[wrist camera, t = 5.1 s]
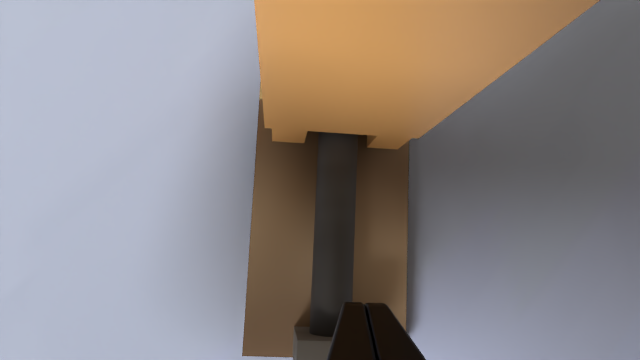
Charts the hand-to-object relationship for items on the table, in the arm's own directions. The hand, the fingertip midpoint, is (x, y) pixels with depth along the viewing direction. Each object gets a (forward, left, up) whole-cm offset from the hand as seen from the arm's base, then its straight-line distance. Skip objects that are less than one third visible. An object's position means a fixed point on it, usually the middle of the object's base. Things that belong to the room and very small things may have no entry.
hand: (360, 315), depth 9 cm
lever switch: (+3, +1, -7) cm, 7 cm away
